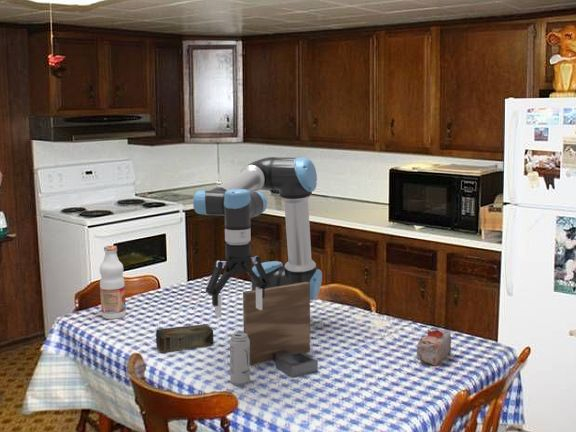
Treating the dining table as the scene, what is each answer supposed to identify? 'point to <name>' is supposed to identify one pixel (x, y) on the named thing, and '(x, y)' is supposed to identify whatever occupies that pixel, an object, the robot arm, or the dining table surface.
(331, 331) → the dining table surface
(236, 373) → the energy drink can
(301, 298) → the wall board
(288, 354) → the can cradle
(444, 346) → the food item
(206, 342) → the beverage carton
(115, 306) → the fruit juice
